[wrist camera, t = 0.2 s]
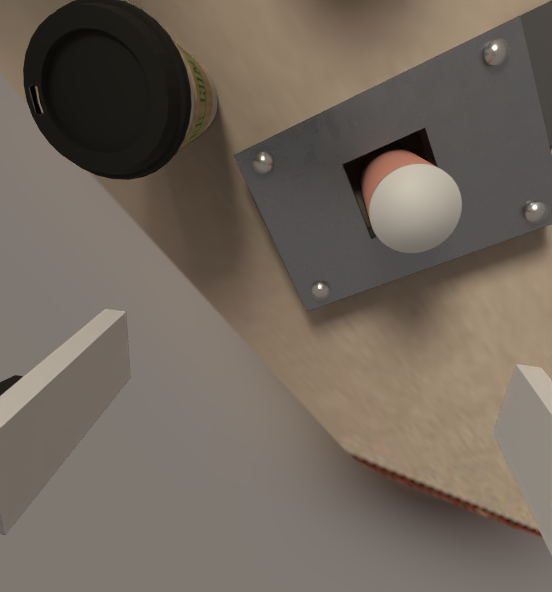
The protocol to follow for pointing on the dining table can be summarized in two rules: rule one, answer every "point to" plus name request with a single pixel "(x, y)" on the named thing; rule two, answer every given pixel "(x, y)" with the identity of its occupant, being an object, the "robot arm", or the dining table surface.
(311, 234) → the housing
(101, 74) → the coffee cup
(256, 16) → the dining table surface
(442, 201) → the pink round peg
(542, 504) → the robot arm
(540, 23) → the mat
